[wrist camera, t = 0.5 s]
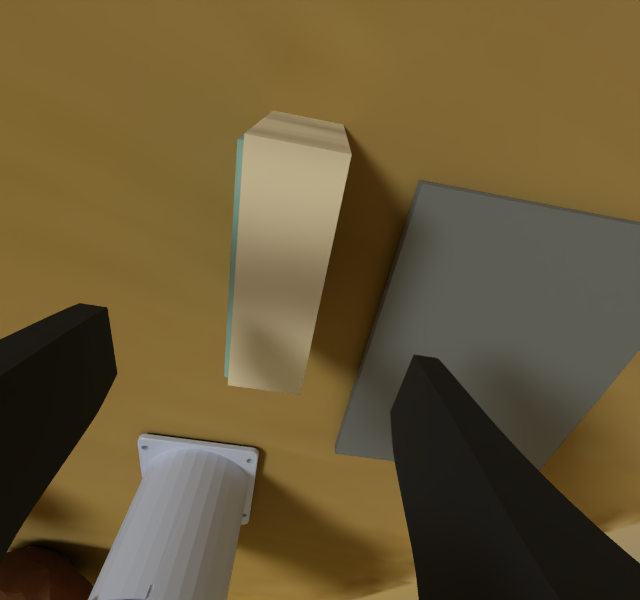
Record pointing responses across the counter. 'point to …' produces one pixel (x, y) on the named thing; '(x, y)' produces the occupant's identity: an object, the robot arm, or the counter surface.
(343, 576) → the counter surface
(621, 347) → the mat
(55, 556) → the butternut squash
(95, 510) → the counter surface
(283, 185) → the tile
